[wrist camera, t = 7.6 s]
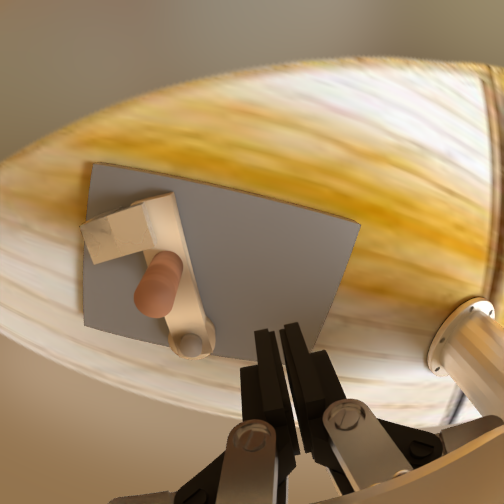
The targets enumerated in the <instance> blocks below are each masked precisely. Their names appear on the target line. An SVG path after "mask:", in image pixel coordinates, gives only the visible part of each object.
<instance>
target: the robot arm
mask: <svg viewBox="0 0 504 504" xmlns="http://www.w3.org/2000/svg"><path fill="white" fill-rule="evenodd" d="M494 317H495V313H494V308H493V305H492V304H491V303H490V302H489V301H488V300H486V299H485V298H481V297H478V298H474V299H471V300H469V301H467V302H465V303H464V304H462V305H461V306H460V307H458V308H457V309H456V310H455V311H454V312H453V313H452V314H451V315H450V316H449V317H448V318H447V319H446V321H445V322H444V323H443V325H442V326H441V327H440V329H439V330H438V332H437V334H436V335H435V337H434V339H433V341H432V344H431V346H430V349H429V352H428V359H427V360H428V366H429V369H430V370H431V371H432V372H433V374H435V375H436V376H440V377H442V376H448V375H450V376H451V378H452V379H453V380H454V381H455V382H456V384H457V385H458V386H459V387H460V389H461V390H462V391H463V392H464V394H465V395H466V396H467V397H468V399H469V400H470V401H471V402H472V404H473V405H474V406H475V408H476V409H477V410H478V411H479V413H480V414H481V415H482V417H481V418H478V419H475V420H472V421H469V422H466V423H463V424H460V425H457V426H453V427H450V428H446V429H443V430H441V431H440V433H437V434H433V433H430V432H426V431H423V430H418V429H414V428H410V427H407V426H403V425H399V424H395V423H392V422H388V421H385V420H381V419H378V418H376V417H375V415H374V414H373V413H372V411H371V410H370V409H369V407H368V406H367V405H366V404H365V403H364V402H361V401H359V400H356V399H346V396H345V394H344V391H343V389H342V387H341V384H340V382H339V380H338V377H337V375H336V373H335V370H334V368H333V366H332V363H331V361H330V359H329V356H328V354H327V352H326V350H322V351H318V352H314V353H310V354H309V351H308V348H307V346H306V343H305V340H304V337H303V334H302V332H301V329H300V326H299V323H298V322H294V323H290V324H285V325H284V329H280V330H279V333H280V338H281V344H282V349H283V354H284V359H285V365H286V370H287V375H288V380H289V385H290V390H291V394H292V398H293V402H294V407H295V411H296V415H297V419H298V424H299V428H300V432H301V437H302V441H303V445H304V450H305V453H309V452H311V453H312V457H313V459H314V460H315V462H316V463H319V464H321V465H323V466H326V470H327V472H328V474H329V476H330V478H331V480H332V482H333V484H334V486H335V488H336V490H337V492H338V494H339V496H340V497H336V498H332V499H329V500H324V501H320V502H316V503H311V504H504V328H503V327H502V326H501V325H500V324H498V323H497V322H496V321H495V320H494ZM254 336H255V345H256V353H257V361H258V365H254V366H248V367H243V368H240V379H241V399H242V418H243V422H241V423H239V424H238V425H236V426H235V427H234V428H233V429H232V430H231V431H230V433H229V436H228V439H227V444H226V450H225V451H224V452H223V453H222V454H221V455H220V456H219V457H218V458H216V459H215V460H214V461H213V462H212V463H210V464H209V465H208V466H207V467H206V468H205V469H203V470H202V471H201V472H200V473H198V474H197V475H196V476H195V477H193V478H192V479H191V480H190V481H189V482H187V483H186V484H185V485H183V486H182V487H181V488H180V489H179V490H178V491H176V492H171V493H170V492H169V491H163V492H157V493H150V494H143V495H135V496H124V497H118V498H114V499H113V500H111V501H110V502H109V503H108V504H288V481H289V478H288V475H289V474H290V472H292V470H293V469H294V468H295V467H296V461H295V455H300V449H299V444H298V439H297V434H296V428H295V423H294V417H293V412H292V407H291V402H290V398H289V393H288V389H287V384H286V380H285V376H284V371H283V367H282V362H281V358H280V353H279V349H278V345H277V340H276V336H275V331H271V332H269V330H268V328H266V329H262V330H257V331H254Z"/></svg>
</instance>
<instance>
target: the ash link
mask: <svg viewBox="0 0 504 504" xmlns="http://www.w3.org/2000/svg"><path fill="white" fill-rule="evenodd" d="M143 202H145V205H146V208H147V211H148V214H149V217H150V221H151V224H152V227H153V230H154V233H155V236H156V239H157V242H158V243H157V244H156V246H155V247H153V248H150V249H146V250H143V253H144V256H145V259H146V263H147V266H148V268H147V270H146V272H145V274H144V275H143V277H142V279H141V281H140V283H139V284H138V286H137V288H136V290H135V292H134V303H135V305H136V307H137V309H138V310H139V311H140V312H141V313H142V314H144V315H146V316H148V317H151V318H161V317H165V320H166V323H167V325H168V328H169V335H168V343H169V346H170V348H171V349H172V350H173V352H175V353H176V354H177V355H179V357H183V358H185V359H191V360H197V359H202V358H205V357H207V356H208V355H209V354H211V353H213V350H214V348H215V336H216V331H215V326H214V324H213V322H212V321H211V320H210V319H209V318H208V317H207V316H206V315H205V312H204V308H203V305H202V301H201V298H200V294H199V290H198V287H197V283H196V279H195V276H194V272H193V268H192V264H191V260H190V256H189V253H188V249H187V245H186V241H185V236H184V232H183V228H182V224H181V220H180V216H179V211H178V207H177V203H176V198H175V194H174V192H170V193H166V194H162V195H157V196H153V197H149V198H145V199H141V200H137V201H135V202H134V203H132V204H131V206H133V205H136V204H139V203H143Z"/></svg>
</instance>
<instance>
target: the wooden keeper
mask: <svg viewBox="0 0 504 504" xmlns="http://www.w3.org/2000/svg"><path fill="white" fill-rule="evenodd" d="M79 227H80V230H81V232H82V235H83V238H84V241H85V243H86V246H87V249H88V251H89V254H90V256H91V259H92V261H93V264H94V265H95V264H98V263H101V262H105V261H108V260H112V259H115V258H118V257H122V256H125V255H129V254H132V253H136V252H139V251H143V250H146V249H150V248H153V247H155V246H156V244H157V243H158V242H157V239H156V236H155V233H154V230H153V227H152V224H151V221H150V217H149V214H148V211H147V208H146V205H145V202H143V203H139V204H136V205H133V206H130V207H127V208H124V209H122V206H121V207H118V208H115V209H112V210H110V211H107V212H104V213H101V214H98V215H96V216H94V217H93V218H91V219H89V220H88V221H86V222H85V223H83V224H82V225H80V226H79Z"/></svg>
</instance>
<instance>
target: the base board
mask: <svg viewBox="0 0 504 504" xmlns="http://www.w3.org/2000/svg"><path fill="white" fill-rule="evenodd" d="M170 192H174V194H175V198H176V203H177V207H178V211H179V216H180V220H181V224H182V228H183V232H184V236H185V241H186V245H187V249H188V253H189V256H190V260H191V264H192V268H193V272H194V276H195V279H196V283H197V287H198V290H199V294H200V298H201V301H202V305H203V308H204V312H205V315H206V316H207V317H208V318H209V319H210V320H211V321H212V322H213V324H214V326H215V331H216V336H215V348H214V350H213V353H211V354H210V355H216V356H222V357H228V358H235V359H242V360H249V361H257V353H256V345H255V336H254V331H257V330H262V329H266V328H268V330H269V332H271V331H275V336H276V340H277V345H278V349H279V353H280V358H281V362H282V364H283V365H285V359H284V354H283V349H282V344H281V338H280V333H279V330H280V329H284V325H285V324H290V323H294V322H298V323H299V326H300V329H301V332H302V334H303V337H304V340H305V343H306V346H307V348H308V351H309V354H310V353H311V351H312V349H313V347H314V344H315V342H316V340H317V338H318V335H319V333H320V331H321V328H322V326H323V324H324V321H325V319H326V317H327V314H328V312H329V309H330V307H331V305H332V302H333V300H334V297H335V295H336V292H337V290H338V287H339V284H340V282H341V279H342V277H343V274H344V271H345V269H346V266H347V263H348V261H349V258H350V255H351V252H352V250H353V247H354V244H355V241H356V238H357V235H358V232H359V230H360V227H361V224H359V223H357V222H356V221H354V220H351V219H348V218H344V217H341V216H337V215H334V214H330V213H327V212H323V211H320V210H316V209H312V208H309V207H305V206H301V205H297V204H294V203H290V202H286V201H282V200H278V199H274V198H270V197H266V196H262V195H258V194H254V193H250V192H246V191H242V190H237V189H233V188H229V187H224V186H220V185H216V184H211V183H206V182H202V181H197V180H193V179H188V178H183V177H178V176H173V175H168V174H163V173H158V172H153V171H147V170H142V169H136V168H131V167H125V166H119V165H114V164H108V163H101V162H99V163H94V164H93V168H92V174H91V181H90V188H89V196H88V205H87V215H86V221H88V220H89V219H91V218H93V217H94V216H96V215H98V214H101V213H104V212H107V211H110V210H112V209H115V208H118V207H121V206H122V209H124V208H127V207H130V206H131V204H132V203H134V202H135V201H137V200H141V199H145V198H149V197H153V196H157V195H162V194H166V193H170ZM147 268H148V266H147V263H146V259H145V256H144V253H143V251H139V252H136V253H132V254H129V255H125V256H122V257H118V258H115V259H112V260H108V261H105V262H101V263H98V264H95V265H94V264H93V261H92V259H91V256H90V254H89V251H88V249H87V246H86V243H85V241H84V261H83V312H84V326H87V327H91V328H94V329H98V330H101V331H105V332H109V333H112V334H116V335H120V336H124V337H128V338H132V339H136V340H140V341H145V342H149V343H153V344H158V345H163V346H167V347H170V346H169V343H168V335H169V328H168V325H167V323H166V320H165V317H161V318H151V317H148V316H146V315H144V314H142V313H141V312H140V311H139V310H138V309H137V307H136V305H135V303H134V292H135V290H136V288H137V286H138V284H139V283H140V281H141V279H142V277H143V275H144V274H145V272H146V270H147ZM257 362H258V361H257Z"/></svg>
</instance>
